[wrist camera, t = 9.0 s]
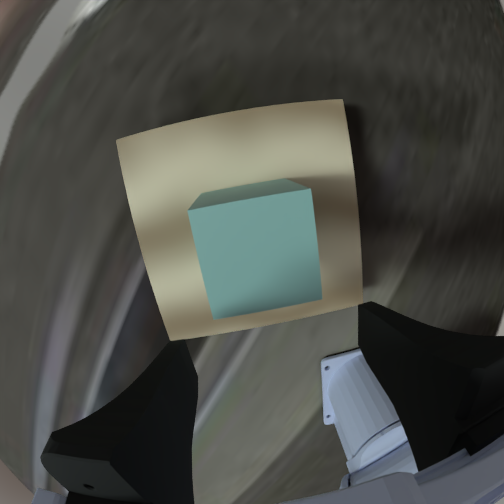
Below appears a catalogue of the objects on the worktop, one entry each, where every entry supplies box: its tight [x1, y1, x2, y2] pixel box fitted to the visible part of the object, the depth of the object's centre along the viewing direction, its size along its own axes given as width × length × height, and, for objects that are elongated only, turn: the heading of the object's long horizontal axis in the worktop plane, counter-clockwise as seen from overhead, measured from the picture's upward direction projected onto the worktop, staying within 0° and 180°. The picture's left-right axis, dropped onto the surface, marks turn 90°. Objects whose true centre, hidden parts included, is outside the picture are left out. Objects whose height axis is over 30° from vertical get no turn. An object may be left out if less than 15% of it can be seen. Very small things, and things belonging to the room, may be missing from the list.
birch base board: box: [116, 99, 363, 341], centre depth 19 cm, size 14×14×2 cm
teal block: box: [187, 178, 322, 320], centre depth 15 cm, size 5×5×6 cm
